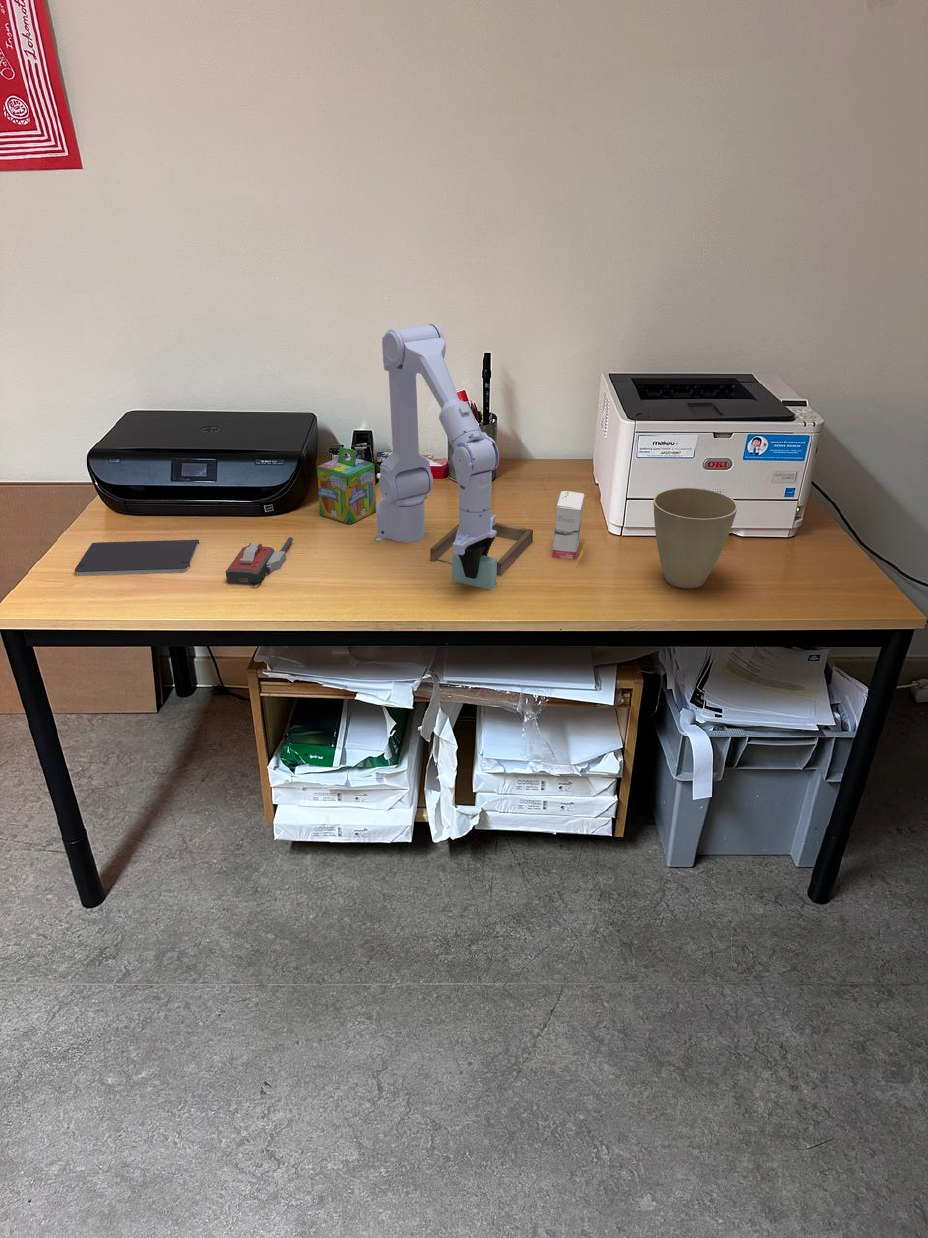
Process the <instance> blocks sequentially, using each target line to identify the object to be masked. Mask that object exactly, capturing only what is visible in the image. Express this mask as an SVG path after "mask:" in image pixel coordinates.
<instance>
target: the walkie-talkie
mask: <svg viewBox="0 0 928 1238" xmlns="http://www.w3.org/2000/svg"><path fill="white" fill-rule="evenodd" d="M293 541H294V538H293V537H292V536H290V537H288V538H287V540H286V541H285V542H284V544H283V546H282V547H281V549H280V550H279V551H278V550H275V549H274V548H273V547H270V546H263V544H262V543H254V542H252V543H251V542H250V543H249V544H248V545H247V546H244V547H242V548H241V550H240V551H239V552H238V554H237V555H236V556H235V558H234V559H233V560H232V562H231V563H230V565H229V566H228V567H227V569H226V571H225V578H226V583H228V585H241V586H242V585H243V586H258V585H260V584H261V583H262V582H263V580H264V578H265V577H266V575H267V574H271V573H273V572H276V571H278V570H280V569H281V568H282V566H283V564H284V563H286V561H287V556H286V552H287V551H288V549H289V547H290V545H291V544H292V542H293Z"/></svg>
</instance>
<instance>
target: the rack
mask: <svg viewBox="0 0 928 1238" xmlns="http://www.w3.org/2000/svg"><path fill="white" fill-rule="evenodd" d="M458 527H459V523H458V524H457V525H455V526H454V527H453V528H452V529H451V530H450V531H449V532H448V533H446V534H445V535H444V536H443V537H442V538H441V539H439V540H438V541H437V542H436V543H435V544H434V545H433V546H432V547H430V551H429V552H430V553H429V555H430V561H431V562H439V563H443V564H448V565H449V564H450V565H452V562H449V561H448V560H443V559H439V558H441V557H442V556H443V554H445V553H446V552H447V551H448V550H449V549H450V548H452V547H453V543H454V541H455V539H456V535H457V530H458ZM492 530H496V535H495V537H498V538H503V539H508V540H513V541H516V542H514V544H512V546H511V547H509V549H508V550H506V552H505V553H504V554H503V555H502V556H501V557H500V558H499V559H498V560H497V576H499V577H500V576H502V575H503V574H505V572H506V571H507V570H508V569H509V568H510V567H511V566H512V565H513V564H514V562H515V561H516V560H517V559H518V558H519V557H520V556H521V554H523V552H524V551H525V550H526V549H527V548H528V547H529V546H530V545H531V544H532V543H533V540H534V529H532V528H531V529H530V528H526V527H522V526H521V527H520V526H515V525H510V524H505V523H500V522H495V525H494V526H492Z"/></svg>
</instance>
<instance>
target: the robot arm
mask: <svg viewBox="0 0 928 1238" xmlns="http://www.w3.org/2000/svg"><path fill="white" fill-rule="evenodd" d="M381 343H382V344H381V345H382V346H381V347H382V361H383V362H382V364H383V370H384V371H386V372H388V386H389V402H390V403H389V404H390V405H389V406H390V420H391V421H390V423H391V424H390V425H391V426H390V427H391V439H392V440H391V441H392V452H391V453H390V454H389V456H387V458H385V459H384V460H383V461H382V462H381V464H380V472H379V473H380V474H379V479H378V488H379V493H380V495H381V497H380V499H379V500H378V503H377V505H376V524H377V525H376V526H377V527H376V529H377V530H376V531H377V537H376V539H375V541H376V542H379V543H380V542H381V541H382V540H383V539H389V540H392V541H395V542H397V543H402V544H406V543H407V544H411V543H416V542H420V541H422V540H423V539H424V538H425V537H426V532H425V531H426V528H425V527H426V526H425V525H426V521H425V516H426V515H425V500H428V495H429V494H431V492H432V490H433V486H434V477H433V473H432V471H431V463H430V461H429V459H428V458H427V457H425V456H424V455H423V454H421V453H420V449H419V448H420V447H419V446H420V445H419V444H420V443H419V422H418V418H419V417H418V396H417V394H418V393H417V392H418V391H417V374H420V375H421V377H422V378H423V380H424V381H425V383H426V385H427V387H428V388H429V390H430V392H431V394H432V395H433V398H435V400H436V402H437V403H438V405H439V407H440V412H439V416H438V419H439V422H440V425H441V426H442V428H443V430H444V432H445V434H446V437H447V439H448V441H449V443H450V445H451V447H452V450H453V454H451V460H452V465H453V467H454V471H455V479H456V483H457V484H458V524H459V527H458V530H457V535H456V539H455V541H454V543H453V546H452V554H458V556H459V558H460V560H461V563H462V567H463V570H464V574H465V577H468V578H472V579H476V577H477V574H478V569H479V562H480V558H481V555H484V556H489V555H488V554H489V551H490V548H491V546H492V544H493V543H494V541H495V540H496V536H495V535H496V530H492V526H494V525H495V523H496V514H492V484H493V483H492V478H493V477H492V475H493V474H492V471H493V470H496V469H497V468H498V466H499V462H500V452H499V449H498V446H497V444H496V441H495V440H494V439H493V438H492V437H490V436H488V434H487V433H486V432H484V431H483V432H482V429H481V427H480V424H479V423H478V422H477V420H476V417H475V414H474V412H473V411H472V408H471V407H470V405H469V403H468V402H465V401H463V400H460V398H459V396H458V393H457V390H456V388H455V385H454V382H453V380H452V376H451V374H450V371H449V369H448V366H447V364H446V360H445V355H446V348H447V346H446V341H445V338H444V335H443V331H442V330H441V329H440V327H439V326H438V325H437V324H436V323H428V324H425V325H417V326H409V327H402V328H390V329H388V330H387V331H386V332H385V334H384V335H383V336H382V342H381Z"/></svg>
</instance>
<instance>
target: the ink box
mask: <svg viewBox="0 0 928 1238" xmlns="http://www.w3.org/2000/svg"><path fill="white" fill-rule="evenodd" d="M584 503H585V493H584V492H583V493H582V492H576V491H569V490H562V491H560V493H559V497H558V500H557V504H556V511H555V512H556V513H555V524H554V531H553V539H552V540H553V541H552V550H551V558H555V559H564V560H576V558H577V554H578V552H579V551H578V550H579V545H580V536H581V530H582V529H581V528H582V522H583V521H582V520H583V511H584Z"/></svg>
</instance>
